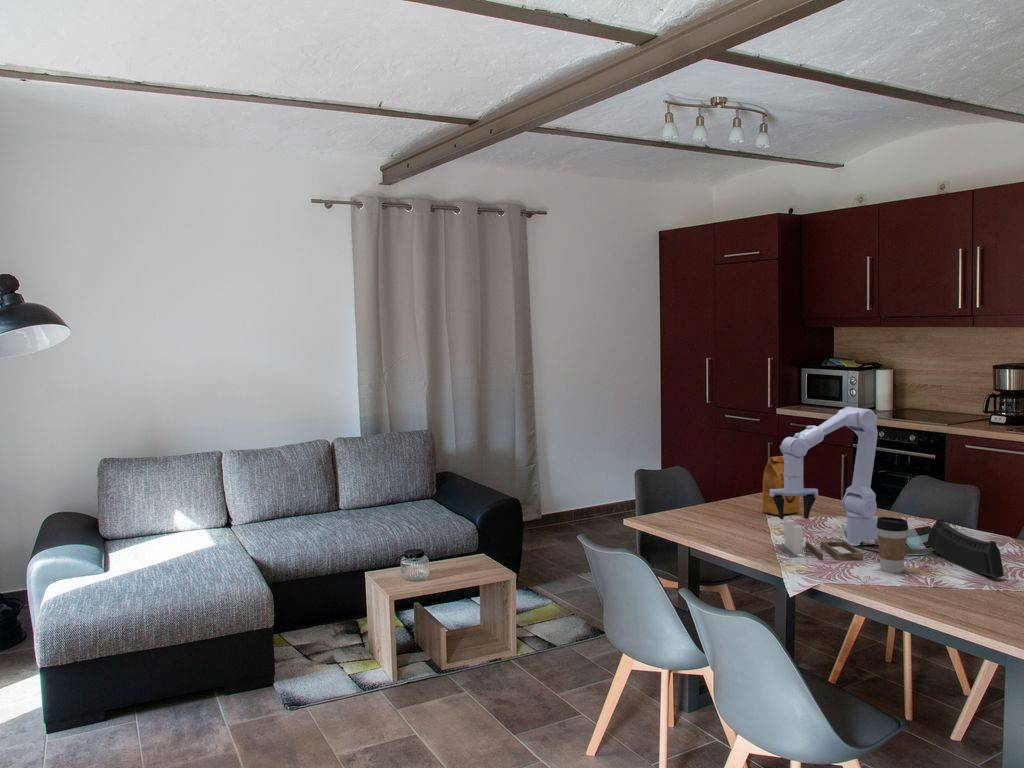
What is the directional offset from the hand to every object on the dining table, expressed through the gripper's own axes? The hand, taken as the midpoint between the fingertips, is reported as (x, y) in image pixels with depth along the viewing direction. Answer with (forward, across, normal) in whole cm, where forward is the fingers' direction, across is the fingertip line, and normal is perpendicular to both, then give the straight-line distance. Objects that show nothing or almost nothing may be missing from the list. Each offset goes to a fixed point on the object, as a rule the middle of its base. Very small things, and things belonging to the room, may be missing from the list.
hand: (793, 518), depth 258 cm
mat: (+10, 0, 0) cm, 10 cm away
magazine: (+11, -44, +18) cm, 48 cm away
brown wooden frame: (+10, -11, +4) cm, 16 cm away
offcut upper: (+10, -14, +4) cm, 17 cm away
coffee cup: (+11, -22, +21) cm, 32 cm away
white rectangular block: (+10, 0, 0) cm, 10 cm away
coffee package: (+11, -12, -51) cm, 53 cm away
